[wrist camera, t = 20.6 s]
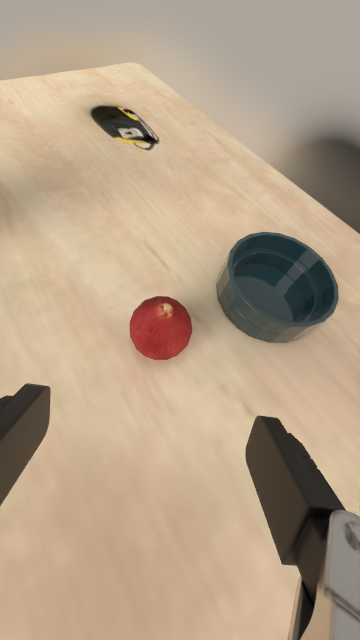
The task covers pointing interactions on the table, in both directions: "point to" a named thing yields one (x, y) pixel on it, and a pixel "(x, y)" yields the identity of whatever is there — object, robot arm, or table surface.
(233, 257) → the bowl
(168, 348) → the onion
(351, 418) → the table surface
